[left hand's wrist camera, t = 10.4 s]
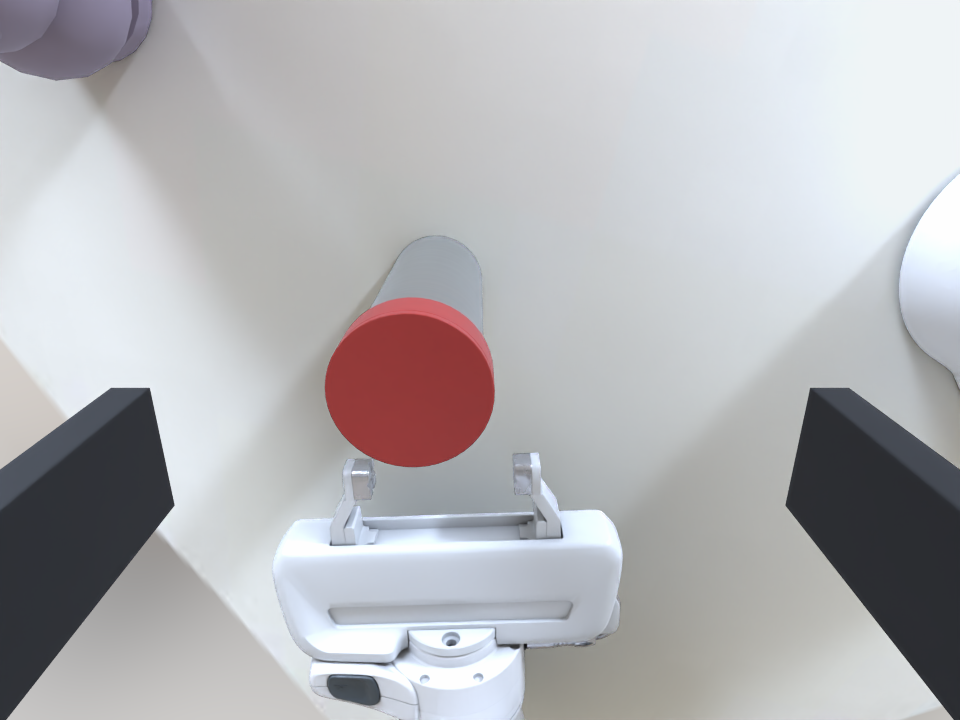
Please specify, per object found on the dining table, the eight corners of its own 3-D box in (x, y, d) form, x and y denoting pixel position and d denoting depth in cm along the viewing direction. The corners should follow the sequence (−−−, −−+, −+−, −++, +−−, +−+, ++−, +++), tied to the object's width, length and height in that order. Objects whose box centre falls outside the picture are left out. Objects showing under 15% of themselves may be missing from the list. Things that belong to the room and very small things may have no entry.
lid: (304, 376, 24) (290, 398, 23) (406, 263, 23) (399, 276, 21) (423, 467, 26) (418, 495, 24) (525, 368, 24) (529, 389, 22)
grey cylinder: (374, 282, 38) (307, 392, 23) (433, 216, 36) (401, 288, 21) (441, 339, 39) (418, 477, 24) (500, 277, 37) (514, 385, 23)
